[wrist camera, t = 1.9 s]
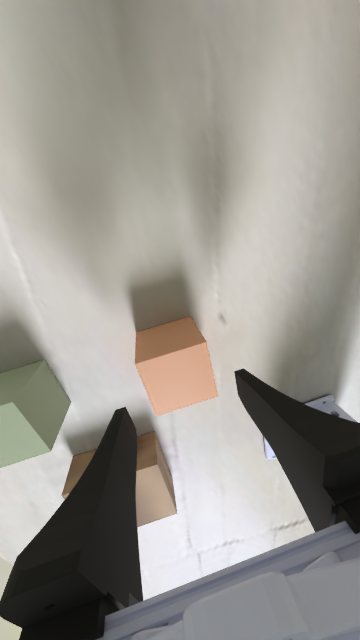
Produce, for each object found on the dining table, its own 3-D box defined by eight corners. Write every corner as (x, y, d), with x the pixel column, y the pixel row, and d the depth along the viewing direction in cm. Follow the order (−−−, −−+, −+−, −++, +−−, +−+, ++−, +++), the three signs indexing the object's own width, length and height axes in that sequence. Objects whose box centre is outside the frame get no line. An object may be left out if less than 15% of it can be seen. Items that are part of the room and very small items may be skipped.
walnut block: (154, 428, 23) (157, 464, 20) (171, 475, 27) (177, 513, 23) (74, 453, 23) (61, 495, 19) (103, 498, 26) (97, 541, 23)
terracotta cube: (190, 315, 19) (206, 341, 14) (200, 360, 21) (218, 396, 16) (136, 331, 18) (135, 364, 14) (152, 375, 20) (156, 416, 16)
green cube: (45, 359, 18) (12, 402, 13) (71, 401, 20) (51, 451, 15) (-15, 376, 17) (-70, 427, 13) (18, 418, 19) (-19, 474, 15)
